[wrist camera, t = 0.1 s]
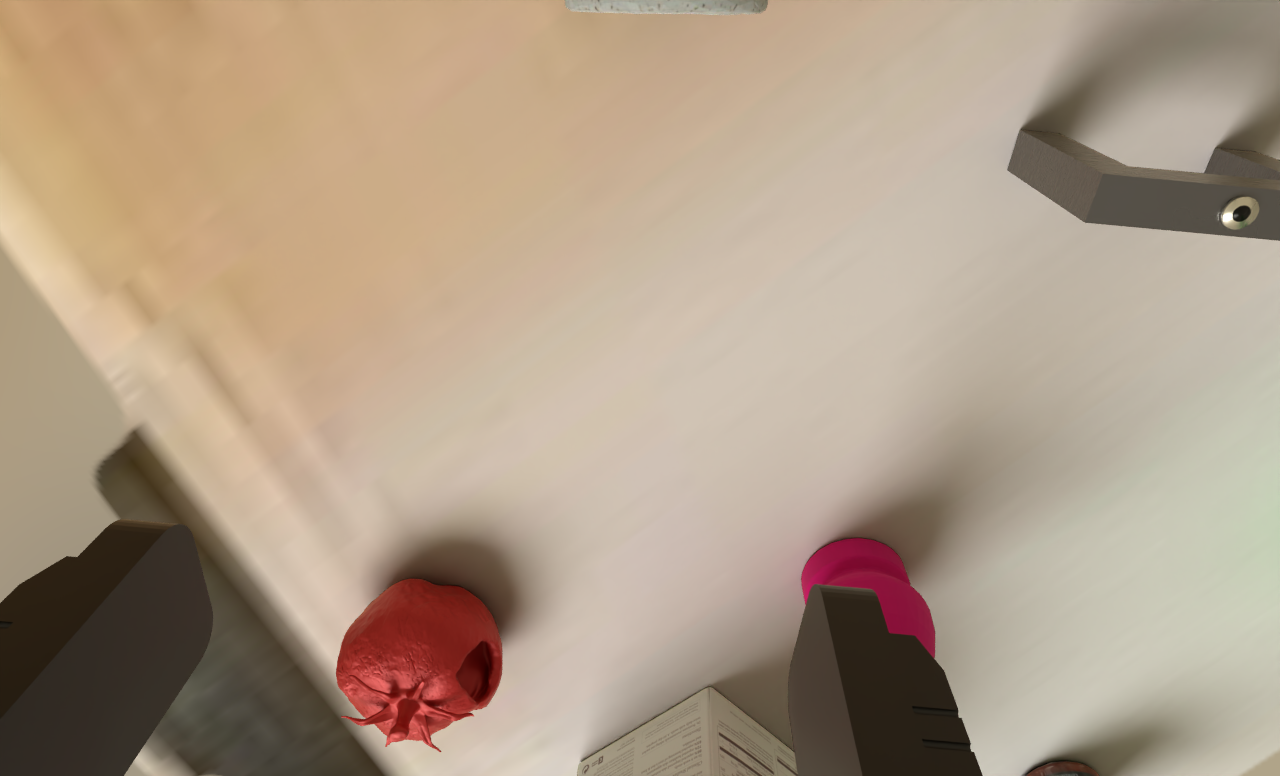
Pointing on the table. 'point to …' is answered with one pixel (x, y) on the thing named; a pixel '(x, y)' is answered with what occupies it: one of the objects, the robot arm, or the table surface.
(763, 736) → the supplement box
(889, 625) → the pepper mill
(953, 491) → the table surface
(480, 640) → the pomegranate
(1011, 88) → the table surface
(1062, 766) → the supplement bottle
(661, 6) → the ceramic mug
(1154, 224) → the collar
